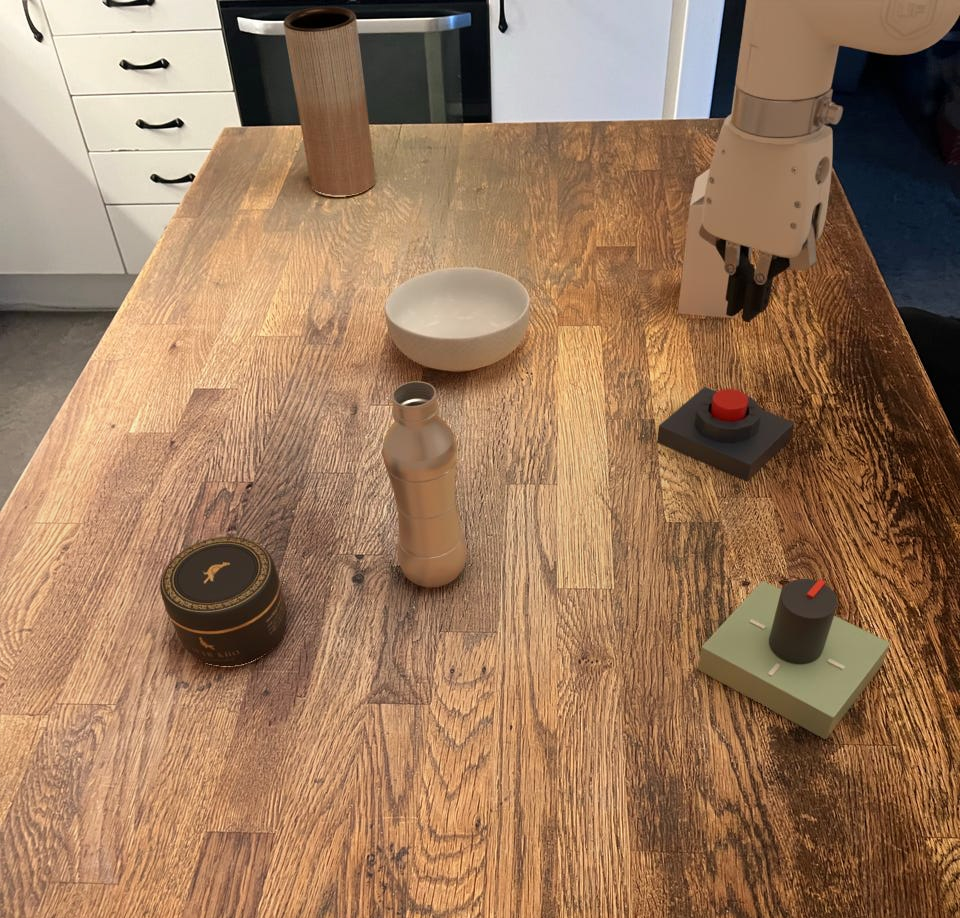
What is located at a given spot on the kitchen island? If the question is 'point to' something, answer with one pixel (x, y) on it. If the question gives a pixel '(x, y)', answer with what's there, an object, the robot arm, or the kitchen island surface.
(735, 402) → the button
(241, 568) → the jar
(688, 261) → the milk carton
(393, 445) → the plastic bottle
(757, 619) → the panel
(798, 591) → the knob
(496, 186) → the kitchen island surface
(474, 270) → the cereal bowl
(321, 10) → the planter
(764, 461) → the button block
